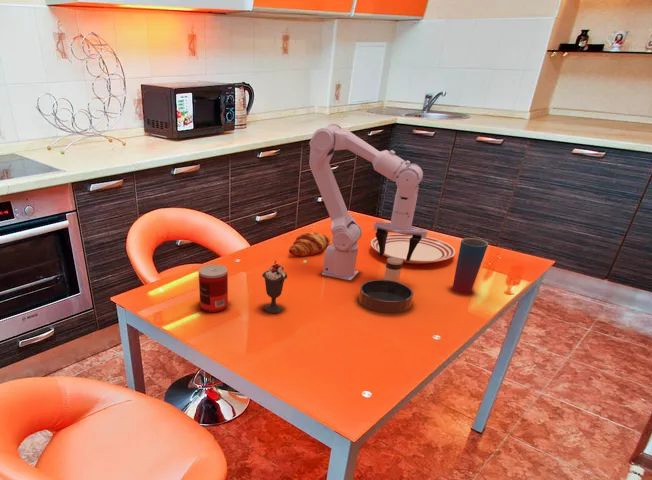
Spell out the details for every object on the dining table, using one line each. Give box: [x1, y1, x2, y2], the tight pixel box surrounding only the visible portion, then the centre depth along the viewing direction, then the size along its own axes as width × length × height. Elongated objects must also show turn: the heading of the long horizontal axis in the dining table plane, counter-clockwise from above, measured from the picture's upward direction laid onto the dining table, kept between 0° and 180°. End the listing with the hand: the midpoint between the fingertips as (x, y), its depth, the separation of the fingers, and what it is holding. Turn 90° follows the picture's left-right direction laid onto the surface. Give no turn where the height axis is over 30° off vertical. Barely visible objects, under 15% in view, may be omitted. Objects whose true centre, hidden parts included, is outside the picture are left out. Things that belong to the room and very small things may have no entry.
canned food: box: [198, 264, 229, 313], centre depth 131 cm, size 8×8×11 cm
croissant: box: [288, 231, 331, 257], centre depth 168 cm, size 21×10×8 cm, turn 132°
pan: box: [358, 279, 414, 315], centre depth 133 cm, size 14×14×4 cm
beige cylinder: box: [383, 257, 404, 283], centre depth 142 cm, size 4×4×8 cm
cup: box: [451, 237, 489, 295], centre depth 136 cm, size 7×7×15 cm
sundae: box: [261, 260, 288, 314], centre depth 128 cm, size 7×7×15 cm
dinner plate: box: [370, 233, 456, 265], centre depth 164 cm, size 27×27×3 cm
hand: (394, 257), depth 140 cm, fingers open, 7 cm apart
